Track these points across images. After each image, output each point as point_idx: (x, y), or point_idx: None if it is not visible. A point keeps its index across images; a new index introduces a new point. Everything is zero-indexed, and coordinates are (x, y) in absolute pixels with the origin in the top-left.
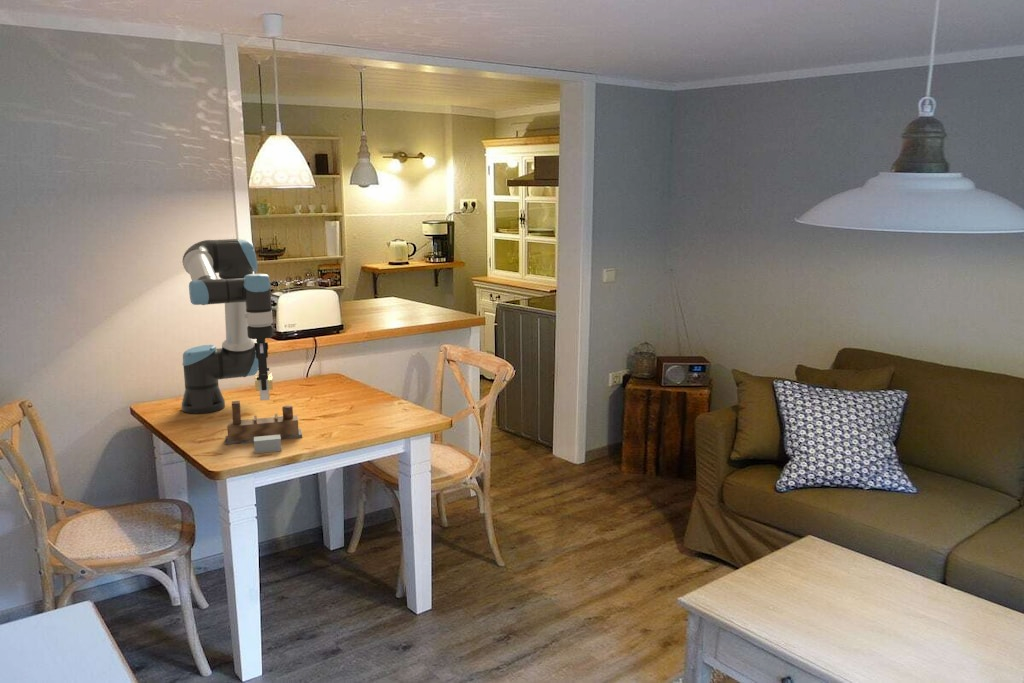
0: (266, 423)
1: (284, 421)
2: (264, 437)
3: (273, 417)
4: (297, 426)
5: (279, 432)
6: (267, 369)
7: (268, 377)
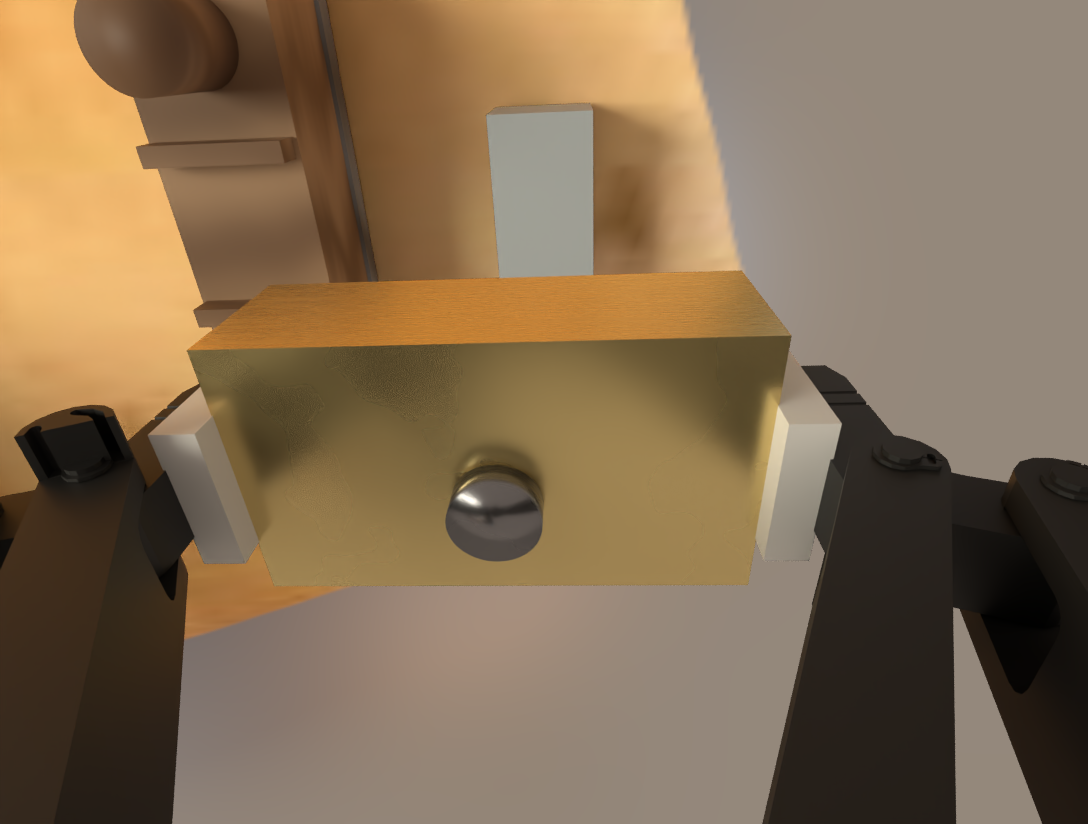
0: (318, 229)
1: (283, 78)
2: (530, 231)
3: (169, 176)
4: None
5: (325, 120)
6: (99, 453)
7: (532, 401)
